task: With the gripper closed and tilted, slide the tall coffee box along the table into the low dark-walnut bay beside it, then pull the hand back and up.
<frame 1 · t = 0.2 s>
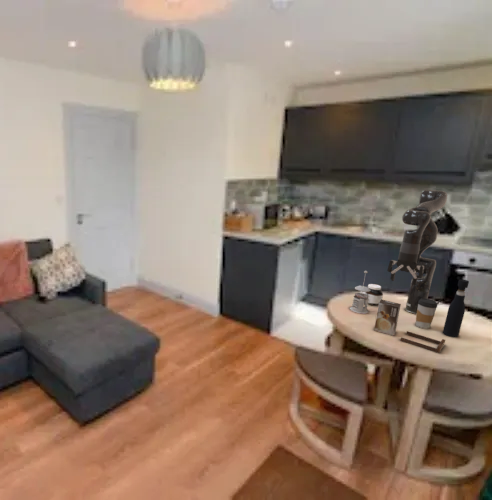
hand: (402, 282, 182), 29 cm above the table, tool pointing down, fingers open, 8 cm apart
spread jar: (367, 303, 230), on the table
dark water bottle: (450, 334, 191), on the table
bay: (421, 342, 183), on the table
french press: (359, 311, 219), on the table
coffee box: (384, 331, 194), on the table
coffee cup: (422, 326, 200), on the table
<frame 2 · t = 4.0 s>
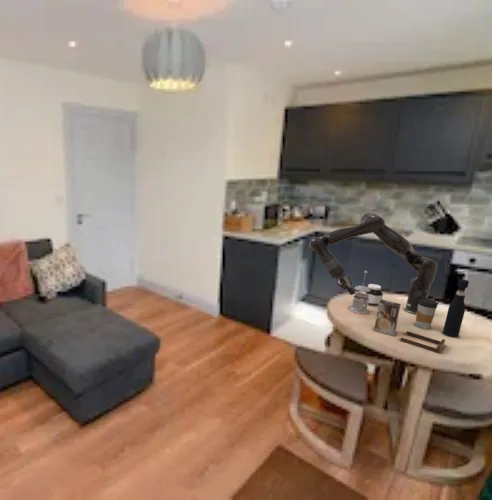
hand: (353, 294, 203), 16 cm above the table, tool tilted 45°, fingers closed
nothing on the table moved.
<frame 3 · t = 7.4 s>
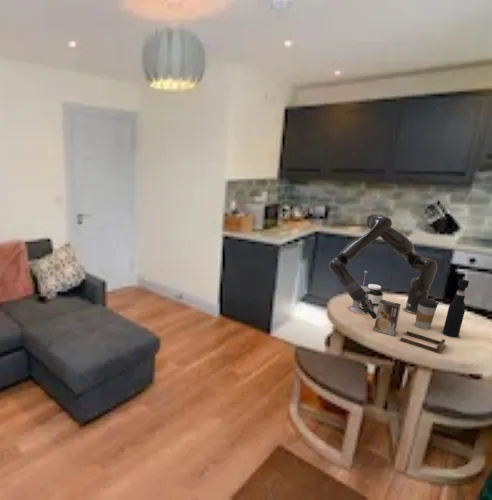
hand: (375, 318, 196), 6 cm above the table, tool tilted 45°, fingers closed
coffee box: (384, 331, 194), on the table, touching gripper
everything else where it was.
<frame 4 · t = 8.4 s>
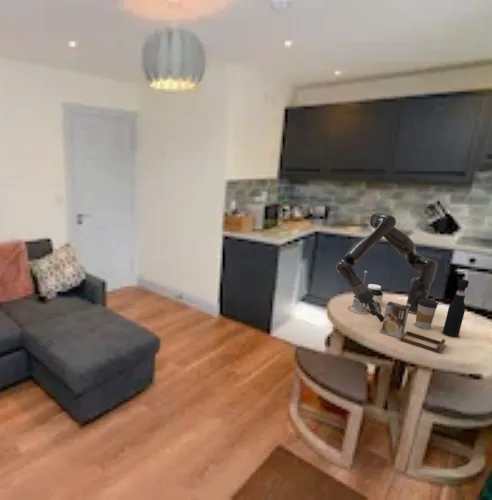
hand: (383, 320, 194), 5 cm above the table, tool tilted 45°, fingers closed
coffee box: (392, 334, 191), on the table, touching gripper
everything else where it was.
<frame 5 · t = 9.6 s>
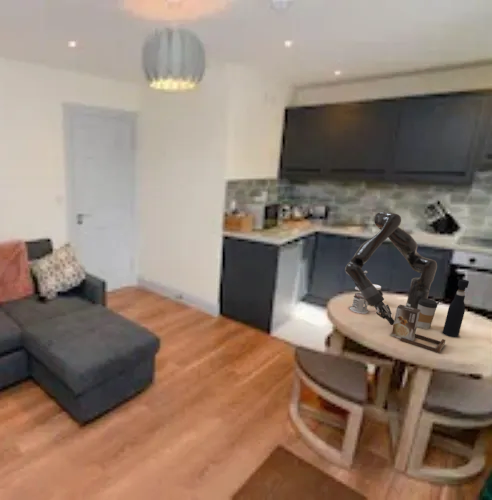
hand: (393, 324, 190), 5 cm above the table, tool tilted 45°, fingers closed
coffee box: (402, 337, 188), on the table, touching gripper
everything else where it was.
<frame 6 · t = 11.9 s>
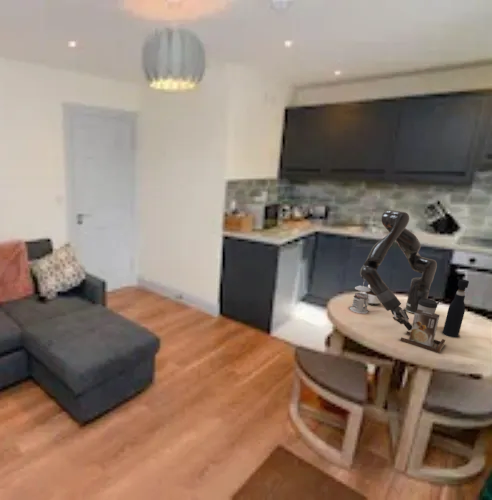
hand: (411, 329, 185), 5 cm above the table, tool tilted 45°, fingers closed
coffee box: (420, 343, 182), resting in bay, touching gripper
everything else where it was.
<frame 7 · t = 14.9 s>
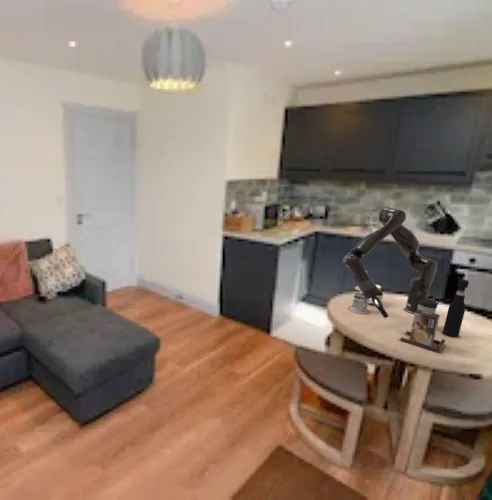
hand: (386, 317, 193), 8 cm above the table, tool tilted 35°, fingers closed
coffee box: (420, 343, 182), resting in bay
everything else where it was.
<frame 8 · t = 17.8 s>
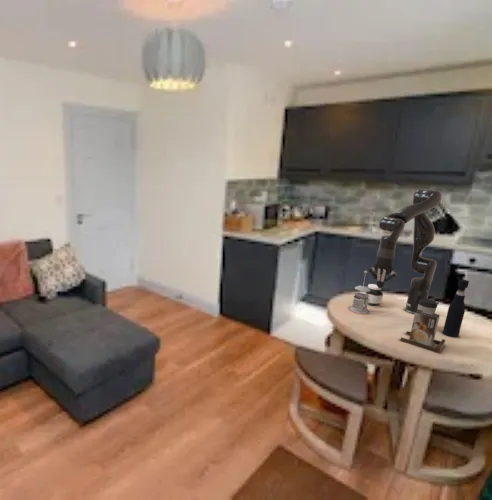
hand: (379, 287, 192), 23 cm above the table, tool pointing down, fingers closed
nothing on the table moved.
at the end: coffee box inside the target area (0.9 cm from its centre), resting in bay; coffee box tilted 0°; coffee box moved 16.1 cm from its start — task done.
